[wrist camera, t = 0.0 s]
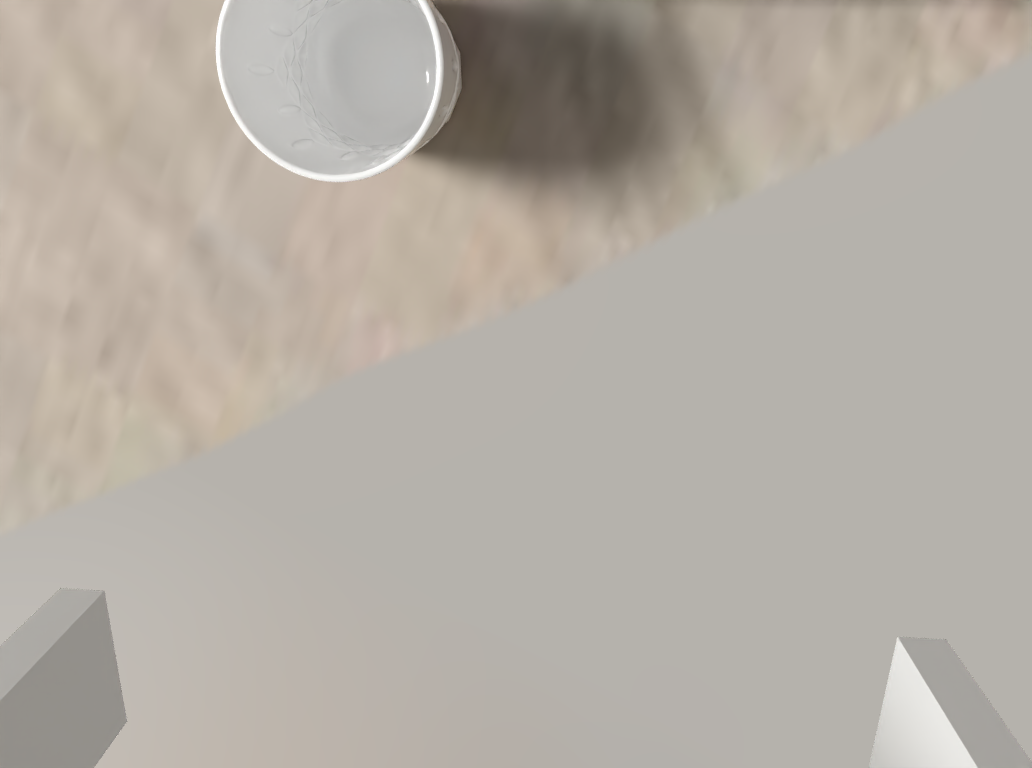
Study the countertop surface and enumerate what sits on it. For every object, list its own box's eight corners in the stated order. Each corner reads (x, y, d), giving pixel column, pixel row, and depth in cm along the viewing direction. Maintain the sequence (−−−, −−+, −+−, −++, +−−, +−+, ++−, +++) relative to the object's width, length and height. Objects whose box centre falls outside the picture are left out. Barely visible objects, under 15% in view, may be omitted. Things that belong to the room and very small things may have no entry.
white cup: (273, 90, 37) (174, 88, 28) (365, -63, 35) (291, -123, 26) (412, 195, 39) (361, 226, 29) (510, 54, 36) (489, 38, 27)
